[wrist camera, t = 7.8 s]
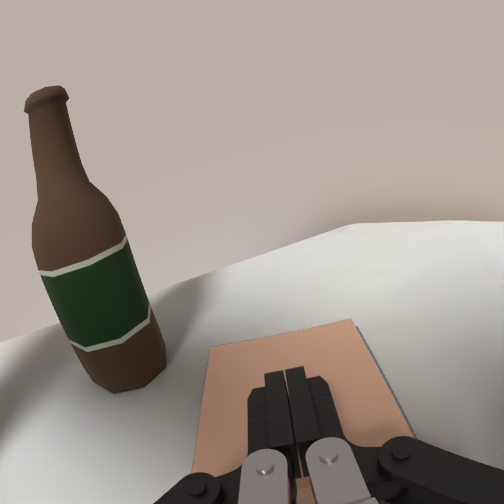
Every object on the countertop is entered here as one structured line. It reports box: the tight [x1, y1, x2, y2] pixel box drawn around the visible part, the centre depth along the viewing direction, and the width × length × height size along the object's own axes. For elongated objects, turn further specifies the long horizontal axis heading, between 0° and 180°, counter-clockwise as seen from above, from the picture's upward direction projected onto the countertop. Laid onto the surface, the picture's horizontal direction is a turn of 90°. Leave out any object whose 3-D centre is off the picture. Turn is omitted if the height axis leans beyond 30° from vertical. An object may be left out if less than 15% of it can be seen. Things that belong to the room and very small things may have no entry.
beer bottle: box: [24, 86, 166, 394], centre depth 21 cm, size 8×8×24 cm
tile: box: [192, 318, 414, 504], centre depth 16 cm, size 10×2×12 cm
